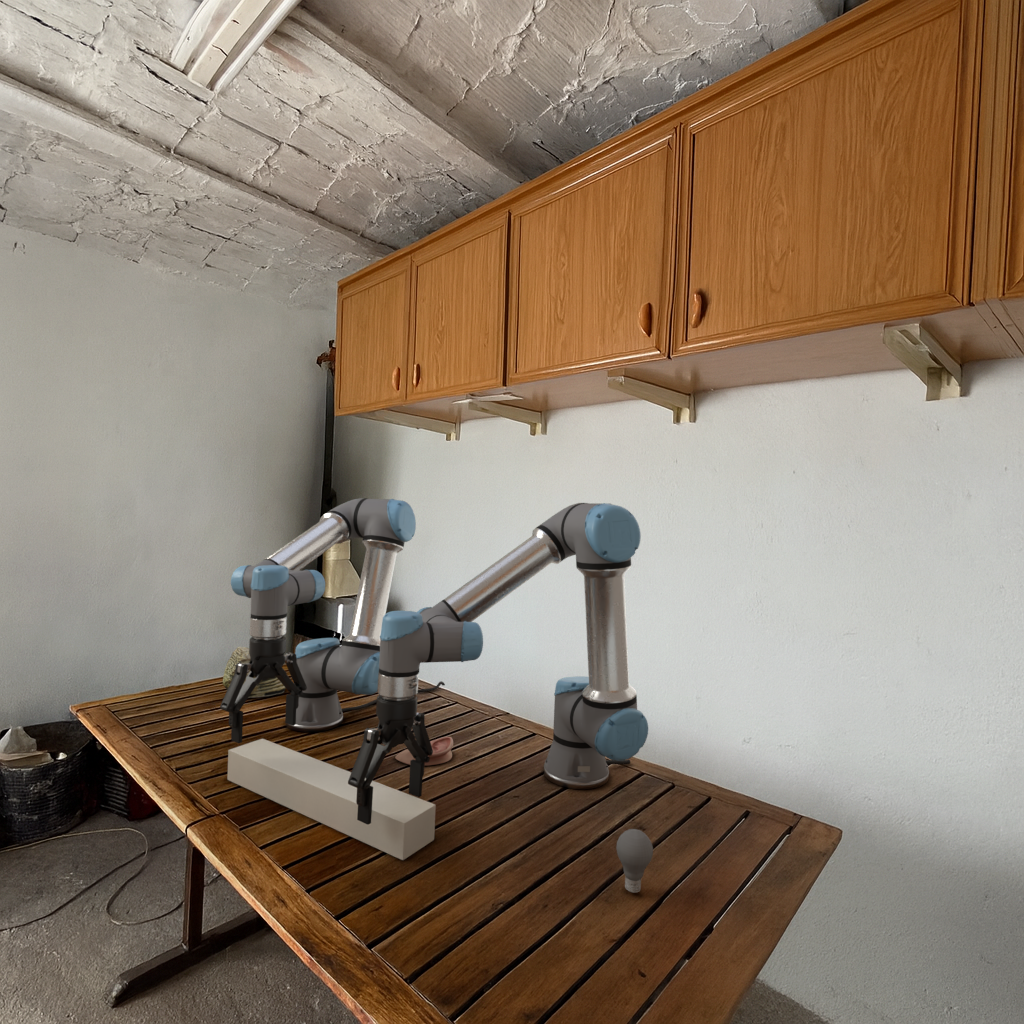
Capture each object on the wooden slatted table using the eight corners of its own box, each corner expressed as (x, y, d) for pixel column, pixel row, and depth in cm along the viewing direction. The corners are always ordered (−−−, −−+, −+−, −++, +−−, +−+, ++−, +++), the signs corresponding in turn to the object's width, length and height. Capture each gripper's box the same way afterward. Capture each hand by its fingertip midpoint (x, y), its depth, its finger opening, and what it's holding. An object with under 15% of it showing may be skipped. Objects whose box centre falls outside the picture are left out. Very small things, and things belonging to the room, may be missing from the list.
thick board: (227, 779, 140) (228, 749, 140) (261, 766, 147) (262, 738, 147) (402, 860, 112) (404, 823, 112) (434, 839, 119) (435, 804, 119)
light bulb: (610, 879, 108) (613, 822, 108) (644, 879, 109) (647, 822, 109) (619, 902, 102) (622, 840, 102) (655, 901, 103) (658, 840, 103)
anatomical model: (390, 746, 152) (408, 729, 163) (390, 762, 152) (407, 745, 163) (443, 753, 149) (457, 735, 160) (443, 770, 149) (457, 751, 160)
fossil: (218, 695, 195) (220, 647, 195) (278, 685, 208) (279, 640, 207) (228, 703, 189) (230, 653, 188) (289, 692, 201) (290, 645, 201)
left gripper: (225, 648, 127) (222, 754, 127) (324, 630, 147) (321, 720, 148) (204, 642, 131) (200, 744, 131) (303, 625, 152) (300, 713, 152)
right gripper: (362, 715, 106) (355, 841, 106) (454, 685, 127) (448, 790, 127) (331, 705, 110) (324, 827, 110) (425, 677, 131) (419, 779, 131)
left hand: (264, 732), depth 139 cm, fingers open, 13 cm apart
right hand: (390, 807), depth 119 cm, fingers open, 13 cm apart
